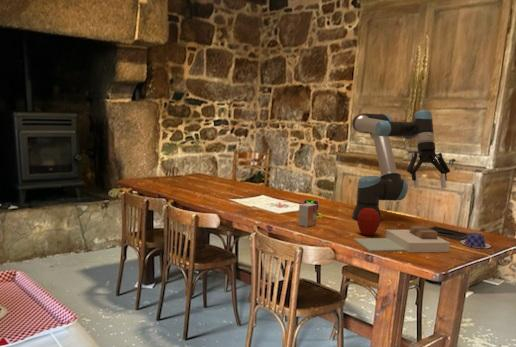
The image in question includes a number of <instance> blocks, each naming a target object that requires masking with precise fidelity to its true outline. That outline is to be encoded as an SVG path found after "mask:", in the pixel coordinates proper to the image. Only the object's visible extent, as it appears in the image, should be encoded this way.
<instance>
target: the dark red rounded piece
mask: <svg viewBox="0 0 516 347" xmlns="http://www.w3.org/2000/svg"><path fill="white" fill-rule="evenodd" d="M380 222H381V221H380V217H379V214H378V212H377V211H376V210H375V209H373V208H370V206H369V208H364V209H362V210H361V211H360V212H359V214H358V220H357V226H358V229H359V231H360V233H361V234H362V235H363V236H372V235H374V234H375V233H377V230H378V229H379V227H380Z"/></svg>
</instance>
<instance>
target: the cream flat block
mask: <svg viewBox="0 0 516 347" xmlns="http://www.w3.org/2000/svg"><path fill="white" fill-rule="evenodd" d="M409 231H410V229H385V238H388V239H390V240H391V241H393V242H395V243H396V244H398V245H400V246H401V247H403V248H404V249H406V251H405V252H407V253H449V252H450V246H451V242H449V241H448V240H445V239H443V238H442V237H440V236H437V239H420V238H419V237H417V236H415V235H413V234H411V233H409Z"/></svg>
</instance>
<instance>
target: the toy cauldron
mask: <svg viewBox="0 0 516 347" xmlns="http://www.w3.org/2000/svg"><path fill="white" fill-rule="evenodd" d="M313 197H316V195H313ZM304 199H305V200H302V201H300V203H301V204H306V203H312V204H317V211H318V210H319V205H320V204H321V205H322V203H321V202H320V201H317V200H319V198H316V200H314V199H307V200H306V197H304ZM318 213H319V212H317V215H316V219H319V217H320V218H323V217H322V215H320V216H319V214H318Z"/></svg>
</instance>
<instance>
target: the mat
mask: <svg viewBox="0 0 516 347" xmlns="http://www.w3.org/2000/svg"><path fill="white" fill-rule="evenodd" d="M353 241H354V242H356V243H358V244H359V245H360V246H362V247H363V248H364V249H365V250H367V251H368V252H407V251H406V249H404V248H403V247H401V246H400V245H398V244H396V243H395V242H393V241H391V240H390V239H388V238H386V237H385V238H384V237H383V238H382V237H381V238H379V237H378V238H377V237H376V238H373V237H372V238H370V237H367V238H366V237H365V238H354V239H353Z"/></svg>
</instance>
